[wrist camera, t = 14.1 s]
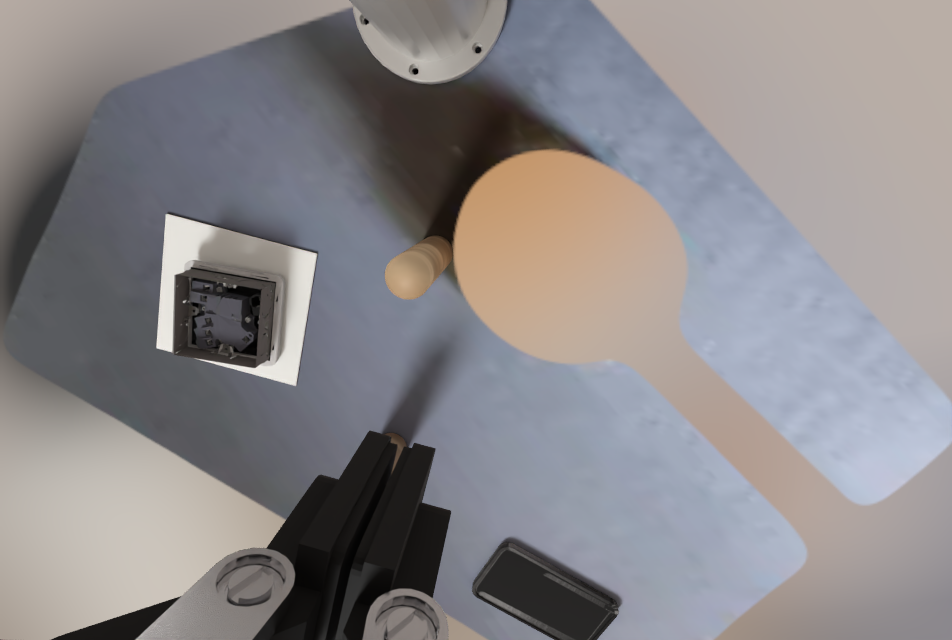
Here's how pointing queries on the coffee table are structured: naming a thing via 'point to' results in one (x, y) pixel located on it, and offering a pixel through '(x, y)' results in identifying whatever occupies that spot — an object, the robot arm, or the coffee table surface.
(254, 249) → the mat
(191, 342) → the electrical switch
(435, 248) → the near oak dowel
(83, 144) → the coffee table surface
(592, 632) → the phone
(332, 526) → the robot arm
